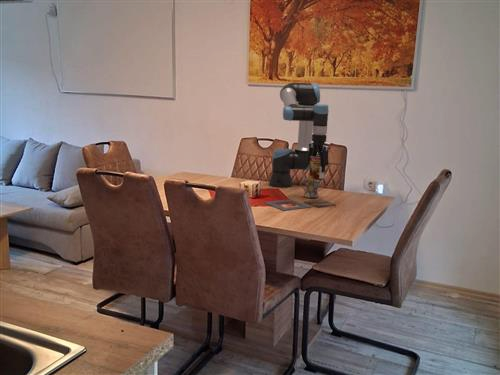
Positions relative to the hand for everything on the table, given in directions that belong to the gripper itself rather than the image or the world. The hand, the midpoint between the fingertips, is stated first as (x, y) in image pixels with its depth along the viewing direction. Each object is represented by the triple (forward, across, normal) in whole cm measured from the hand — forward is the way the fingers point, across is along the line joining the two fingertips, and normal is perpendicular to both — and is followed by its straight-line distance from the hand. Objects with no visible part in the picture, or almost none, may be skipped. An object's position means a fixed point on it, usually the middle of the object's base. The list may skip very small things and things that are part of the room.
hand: (316, 176), depth 250 cm
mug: (+15, -16, +8) cm, 24 cm away
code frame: (+15, -4, -15) cm, 22 cm away
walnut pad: (+15, +1, +3) cm, 15 cm away
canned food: (+1, 0, 0) cm, 1 cm away
